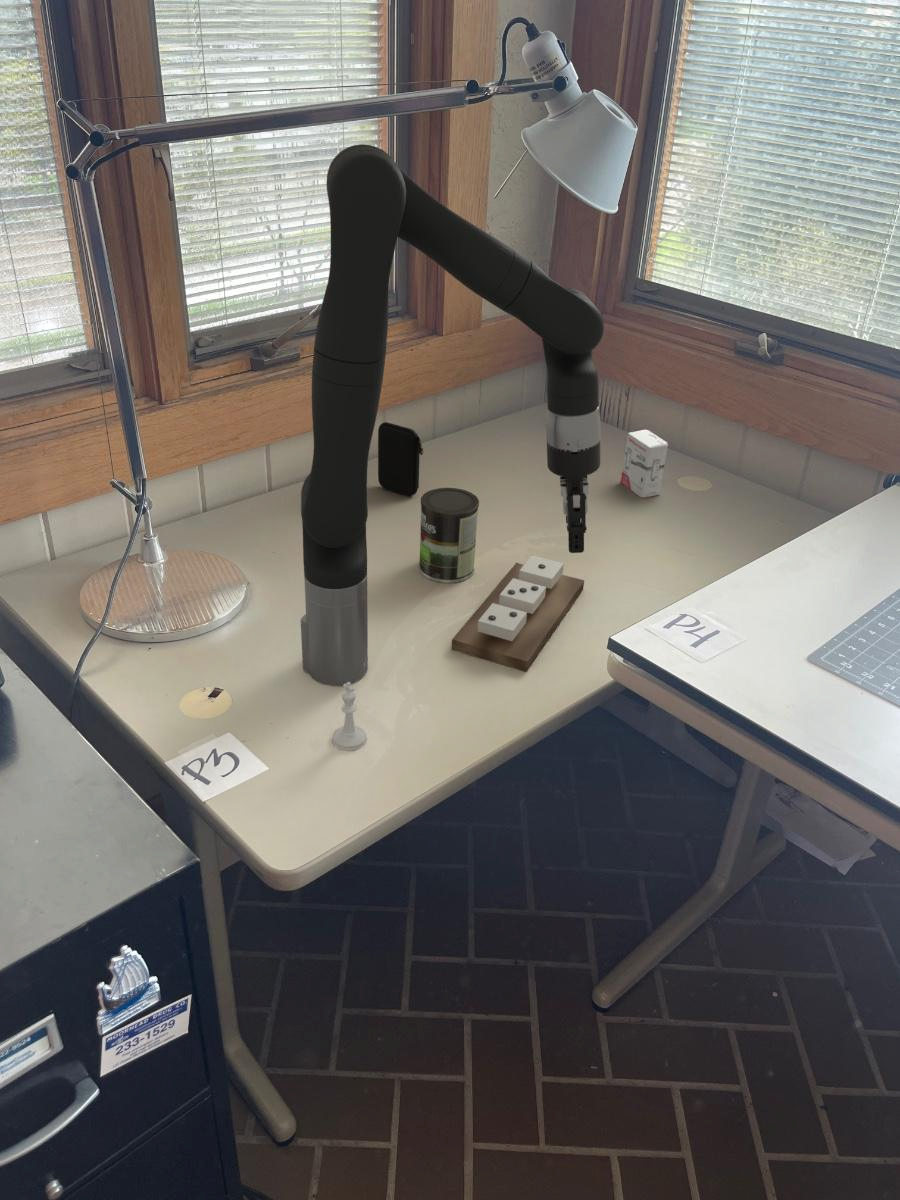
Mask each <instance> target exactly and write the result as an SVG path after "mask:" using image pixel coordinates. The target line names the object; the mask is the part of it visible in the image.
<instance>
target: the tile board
mask: <svg viewBox="0 0 900 1200" xmlns="http://www.w3.org/2000/svg"><path fill="white" fill-rule="evenodd" d="M523 566H524V564H523V563H518V562H515V564H514V565H513V566H512V567H511V568H510V570H508V572H507V574H505V576H504V577H503V578H502V579H501V580H500V582H499V583H498V584H497V585H496V586H495V588H494V589H493V590H492V591H491V592H490V594H489V595H487V597H486V598H485V599H484V601H483V602H482V603H481V604H480V605H479V606H478V608H477V609H476V610H474V611H475V612H473V614H472V615H471V616H470V617H469V618H468V620H467V621H466V622H465V623H464V625H463V626H462V627H461V628H460V629H459V630H458V632H456V634H455V635H454V636H453V637H452V639H451V651H454V652H458V653H461V654H465V655H469V656H472V657H476V658H478V659H481V660H485V661H489V662H492V663H494V664H495V663H496V664H498V665H501V666H505V667H509V668H513V669H516V670H518V671H522V672H526V673H527V672H528V671H529V669H530V668H531V667H532V665H533V664H534V662H535V660H536V659H537V658H538V657H539V655H540V653H541V652H542V650H543V649H544V648H545V646H546V645H547V643H548V642H549V640H550V639H551V637H552V636H553V634H554V633H555V632H556V630H557V629H558V627H559V626H560V624H561V623H562V621H563V620H564V619H565V617H566V615H567V614H568V613H569V611H570V610H571V608H572V606H573V605H574V604H575V602H576V601H577V600H578V598H579V597H580V595H581V594H582V592H583V591H584V585H585V579H581V578H577V577H574V576H570V575H565V574H562V575H561V576H560V578H559V579H558V580H557V582H556V583H555V584H554V586H553V587H552V588H551V589H550V588H546V594H545V598H544V599H543V601H542V602H541V603H540V605H539V606H538V607H537V609H536V610H535V611H534V613H533V614H531V613H527V617H526V624H525V625H524V626H523V628H522V629H521V630H520V632H519V633H518V634H517V636H516V637H515V638H514V640H513V641H510V640H506V639H503V638H499V637H496V636H492V635H489V634H485V633H482V632H478V620H479V619H480V618H481V617H482V616H483V614H484V613H485V612H486V611H487V609H488V608H489V607H490V606H491V605H492V603H494V604H498V605H499V598H500V594H501V592H502V591H503V590H504V589H505V588H506V586H507V585H508V584H509V583H510V581H511V580H512V579H513V578H514V579H518V580H519V571H520V569H521V568H522V567H523ZM512 609H513V608H512Z"/></svg>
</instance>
